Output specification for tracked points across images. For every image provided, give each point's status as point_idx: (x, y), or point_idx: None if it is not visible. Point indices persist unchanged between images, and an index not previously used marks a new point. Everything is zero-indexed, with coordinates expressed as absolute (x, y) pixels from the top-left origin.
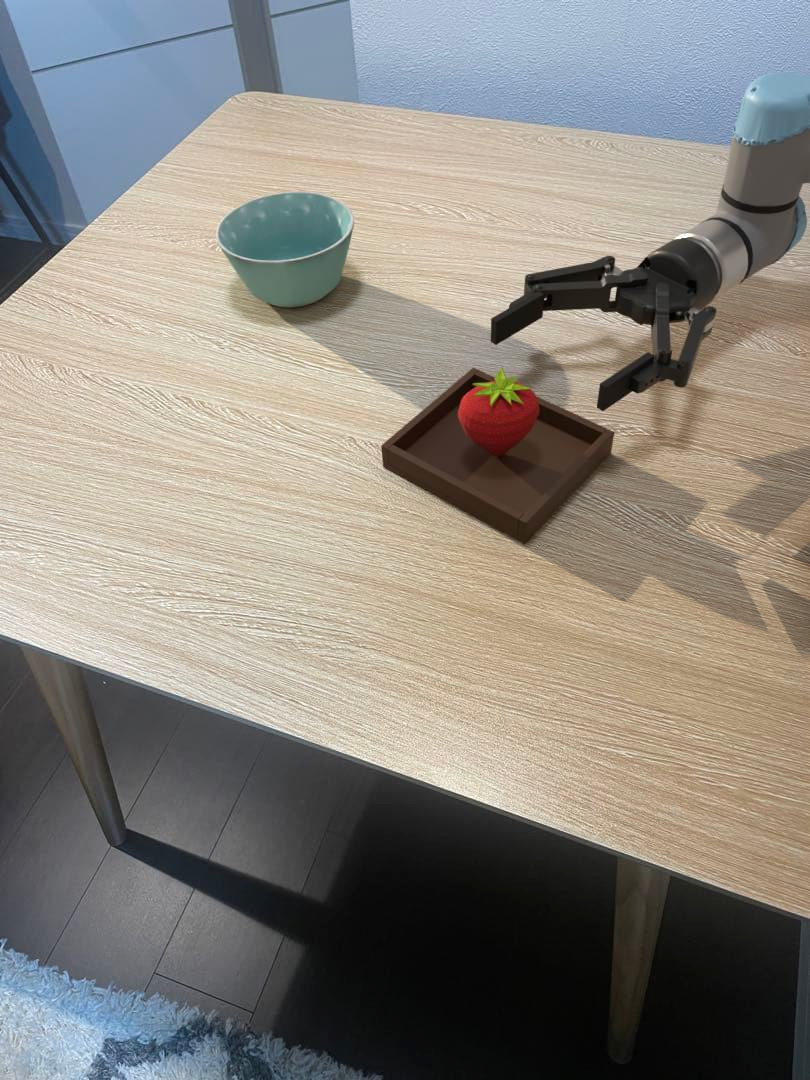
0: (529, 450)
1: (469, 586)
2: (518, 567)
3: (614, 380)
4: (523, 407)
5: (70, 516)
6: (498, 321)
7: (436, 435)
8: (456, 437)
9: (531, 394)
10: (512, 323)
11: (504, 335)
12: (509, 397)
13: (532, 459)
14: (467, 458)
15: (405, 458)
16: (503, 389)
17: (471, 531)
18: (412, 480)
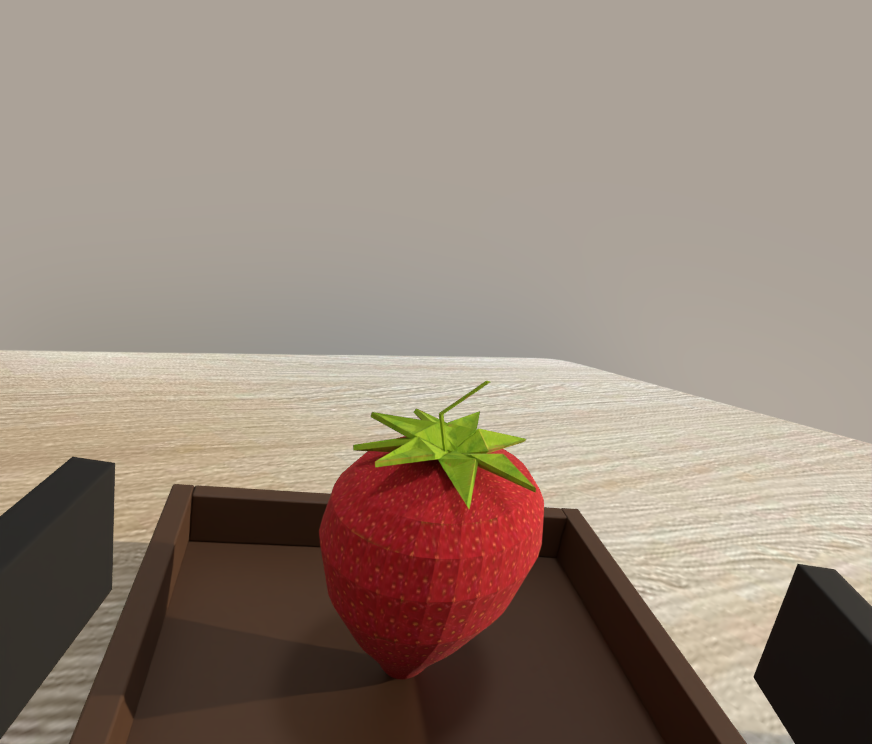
0: (337, 732)
1: (220, 469)
2: (154, 512)
3: (43, 490)
4: (355, 470)
5: (682, 409)
6: (801, 573)
7: (576, 643)
8: (539, 663)
9: (377, 507)
10: (841, 706)
11: (789, 696)
12: (397, 425)
13: (303, 709)
14: None
15: None
16: (443, 448)
17: None
18: None
